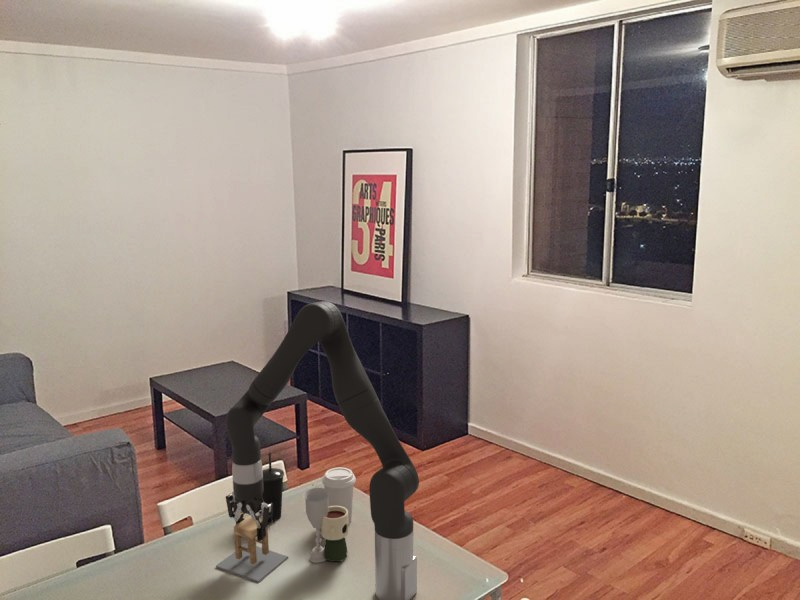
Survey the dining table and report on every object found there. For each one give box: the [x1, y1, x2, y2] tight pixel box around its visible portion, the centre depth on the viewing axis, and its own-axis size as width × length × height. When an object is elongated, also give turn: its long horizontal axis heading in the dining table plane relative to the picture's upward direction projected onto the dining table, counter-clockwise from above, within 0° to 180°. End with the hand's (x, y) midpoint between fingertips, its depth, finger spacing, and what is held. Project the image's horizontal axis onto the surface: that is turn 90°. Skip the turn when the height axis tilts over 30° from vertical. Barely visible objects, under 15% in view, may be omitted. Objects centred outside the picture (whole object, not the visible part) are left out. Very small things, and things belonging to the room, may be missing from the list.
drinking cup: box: [262, 452, 285, 522], centre depth 200 cm, size 8×8×20 cm
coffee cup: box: [321, 467, 357, 525], centre depth 198 cm, size 10×10×15 cm
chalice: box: [302, 487, 330, 563], centre depth 180 cm, size 7×7×18 cm
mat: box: [215, 542, 289, 584], centre depth 180 cm, size 14×12×1 cm
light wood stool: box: [233, 515, 270, 564], centre depth 178 cm, size 6×6×9 cm
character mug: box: [320, 506, 350, 562], centre depth 181 cm, size 11×7×13 cm, turn 178°
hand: (251, 535), depth 178 cm, fingers closed on light wood stool, 6 cm apart
